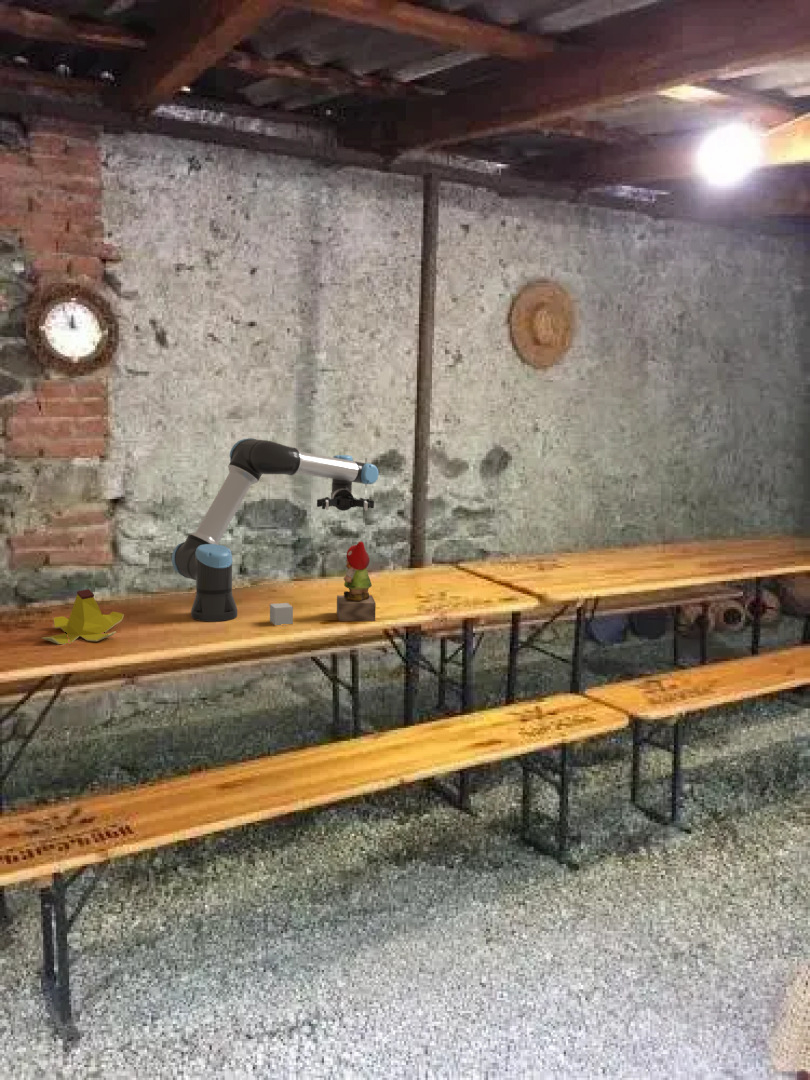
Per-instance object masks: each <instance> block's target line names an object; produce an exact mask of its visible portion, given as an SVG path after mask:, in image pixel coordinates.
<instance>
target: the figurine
mask: <svg viewBox="0 0 810 1080" xmlns="http://www.w3.org/2000/svg"><path fill="white" fill-rule="evenodd" d="M370 562H371V561H370V555H369V554H368V552H367V550H366V548H365V544H364V542H363V541H361V540H360V541H358V542H357V544H354V545H351V546H350V547H349V548H348V549H347V552H346V561H345V563H346V565H345V567H346V568H347V571H346V573H345V576H344V577H343V581H344V583H343V585H344V587H345V588H347V589H348V591H347V590H345V591H343V595H344V598H345V599H346V600H353V601H360V600H363V599H369V595H370V593H369V589H370V588H372V587H373V585H372V581H371V579H370V576H369V575H370V574H369V572H368V567H369V564H370Z"/></svg>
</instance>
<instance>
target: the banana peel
mask: <svg viewBox="0 0 810 1080" xmlns="http://www.w3.org/2000/svg"><path fill="white" fill-rule="evenodd" d="M76 594H77V595H76V596H75V599H74V603H73V606H72V609H71V612H70V615H69V618H67V617H66V616H64V615H61V616H57V617H53V625H54V629H61V630H62V631H63V632H64V633H61V634H55V635H51V636H43V637H42V636H41V639H42V640H45V641H49V642H51V643H54V644H57V645H59V644H63V645H67V644H66V643H69V644H72V643H73V642H74V641H76V640H77V639H78V638H79V637H81V638H82V639H84V640H86V641H88V642H99V641H101V640H104V639H106V638H109V637H111V636H113V635H114V634H116V633H117V631H116V630H115V631H112V632H110V633H107V632H108V631H109V630H110V629H112V628H113V627H114V626H116V625H117V624H119V623H120V622H121V621H123V618H124V615H125V614H124V613H121V612H118V611H117V612H116V611H112V612H111V613H109V614H102V610H101V609H100V607H99V605H98V603H97V601H96V599H95V597H94V596H95V594H94V593H93V592H92V591H91V590H90V589H83V590H78V591H76ZM65 632H66V633H67V634H66V633H65ZM103 632H105V633H104V634H101V633H103ZM67 635H68V637H69V640H70V642H68V637H67ZM71 642H72V643H71Z"/></svg>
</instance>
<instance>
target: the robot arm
mask: <svg viewBox="0 0 810 1080" xmlns="http://www.w3.org/2000/svg"><path fill="white" fill-rule="evenodd" d="M229 458H230V459H229V463H228V466H227V467H228V471H229V473H228V474H227V476H226V478H225V480H224V482H223V483H222V485H221V487H220V489H219V490H218V493H217V494H216V496H215V497H214V499H213V501H212V503H211V504H210V506H209V508H208V510H207V511H206V514H205V515H204V516H203V519H202V521H201V522H200V524H199V526H198V527H197V529H196V530H195V532H190V533H189V534H188V536H187V538H186V539H185V541H183V542H181V543H179V544H177V545H176V546H175V547H174V549H173V551H172V554H171V564H172V567H173V569H174V571H175V572H176V573H177V574H178V575H180V576H182V577H184V578H186V579H191V580H194V581H195V582H196V583H195V584H196V585H195V588H196V593H195V598H194V600H193V603H192V607H191V609H190V617H191V619H194V620H197V621H203V622H223V621H229V620H233V619H235V617H236V618H237V617H238V607H237V604H236V602H235V598H234V596H233V554H232V551H231V549H230V548H229V547H227V546H225V545H221V544H219V543H220V541H221V540H222V538H223V536H224V534H225V532H226V531H227V529H228V527H229V525H230V523H231V521H232V520H233V519H234V516H235V515H236V513H237V511H238V510H239V508H240V506H241V504H242V503H243V500H244V499H245V497H246V495H247V493H248V491H249V489H250V488H251V486H252V485H255V484H258V482H259V480H260V479H261V478H262V476H263V475H285V476H294V475H296V474H299V475H306V476H313V477H319V478H325V479H326V478H327V479H332V480H331V483H332V484H331V492H330V497H329V496H326V497H324V498H319V499H316V507H317V508H320V507H321V510H326V511H328V510H329V507H335V508H336V509H337V510H339V511H343V512H345V511H349V510H350V509H352V508H357V507H359V508H363V509H364V511H365V512H366V511H367V512H368V509H369V508H371V509H374V507H375V500H372V499H371V500H370V498H366V499H365V498H364V497H363V498H362V497H360V498H357V497H355V496H354V495H353V494H352V492H353V491H352V489H353V483H357V484H363V485H373V484H374V483H376V482H377V480H378V478H379V469H378V467H377V465H375V464H373V463H369V462H368V463H366V462H361V461H354V460H353V459H354V457H353V456H352V455H347V454H346V455H345V454H336V455H334V456H332V457H331V456H326V455H320V454H315V453H309V452H305V451H300V450H299V449H298V448H296V447H292V446H288V445H284V444H281V443H278V442H275V441H271V440H265V439H264V440H263V439H257V438H254V437H253V438H251V437H250V438H243V439H240V440H238V441H236V442H235V443H234V444H233V445H232V447H231V450H230V452H229Z"/></svg>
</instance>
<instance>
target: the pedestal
mask: <svg viewBox="0 0 810 1080" xmlns="http://www.w3.org/2000/svg"><path fill="white" fill-rule="evenodd" d="M376 605H377V604H376V601H375V599H374V597H373V595H372V594H369V599H363V600H360V601H353V600H346V599H345V598H344V594H343V595H342V594H341V595H340V594H339V595H336V615H337V618H338V621H339V622H365V621H366V622H369V621H371V622H372V621H373V622H375V621H376Z"/></svg>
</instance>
